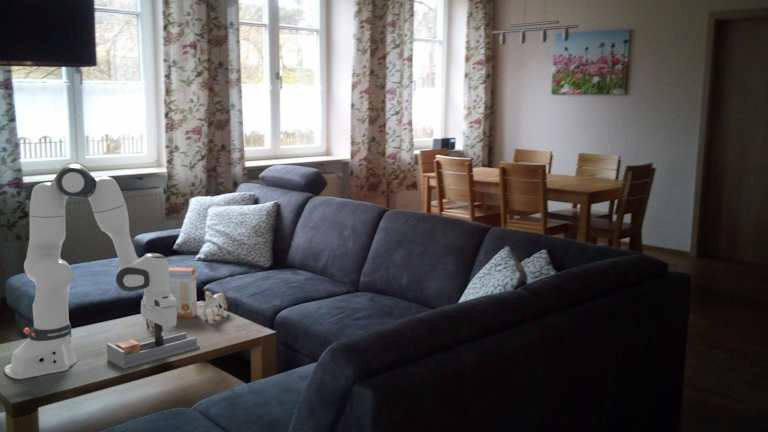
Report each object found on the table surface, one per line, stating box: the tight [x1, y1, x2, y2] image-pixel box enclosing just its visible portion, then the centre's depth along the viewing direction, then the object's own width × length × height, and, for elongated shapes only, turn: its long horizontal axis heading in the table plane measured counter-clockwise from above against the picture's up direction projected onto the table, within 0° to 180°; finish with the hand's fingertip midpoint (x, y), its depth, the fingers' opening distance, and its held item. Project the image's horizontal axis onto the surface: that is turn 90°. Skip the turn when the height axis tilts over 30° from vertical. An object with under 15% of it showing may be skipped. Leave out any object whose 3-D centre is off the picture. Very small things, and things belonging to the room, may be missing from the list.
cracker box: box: [168, 266, 198, 319], centre depth 301 cm, size 14×6×21 cm, turn 84°
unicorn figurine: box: [202, 291, 228, 322], centre depth 297 cm, size 7×20×13 cm, turn 177°
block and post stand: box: [115, 323, 164, 355], centre depth 253 cm, size 16×6×10 cm, turn 136°
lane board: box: [106, 332, 201, 369], centre depth 257 cm, size 30×12×6 cm, turn 136°
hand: (158, 333), depth 257 cm, fingers open, 7 cm apart
